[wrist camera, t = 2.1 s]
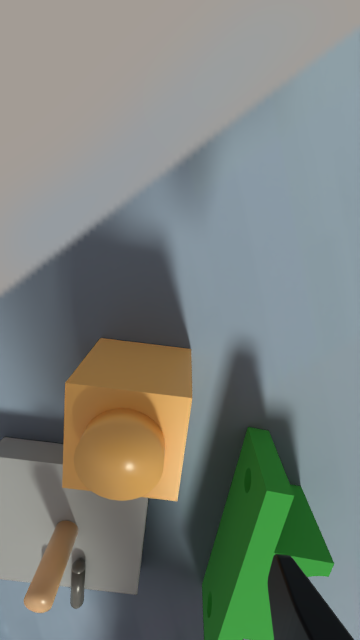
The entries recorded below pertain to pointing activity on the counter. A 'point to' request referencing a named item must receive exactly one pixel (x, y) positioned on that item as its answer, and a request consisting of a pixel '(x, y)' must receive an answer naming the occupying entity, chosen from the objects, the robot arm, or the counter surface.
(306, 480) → the counter surface
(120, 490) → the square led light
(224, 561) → the pipe clamp
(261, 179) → the counter surface
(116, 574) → the plate
